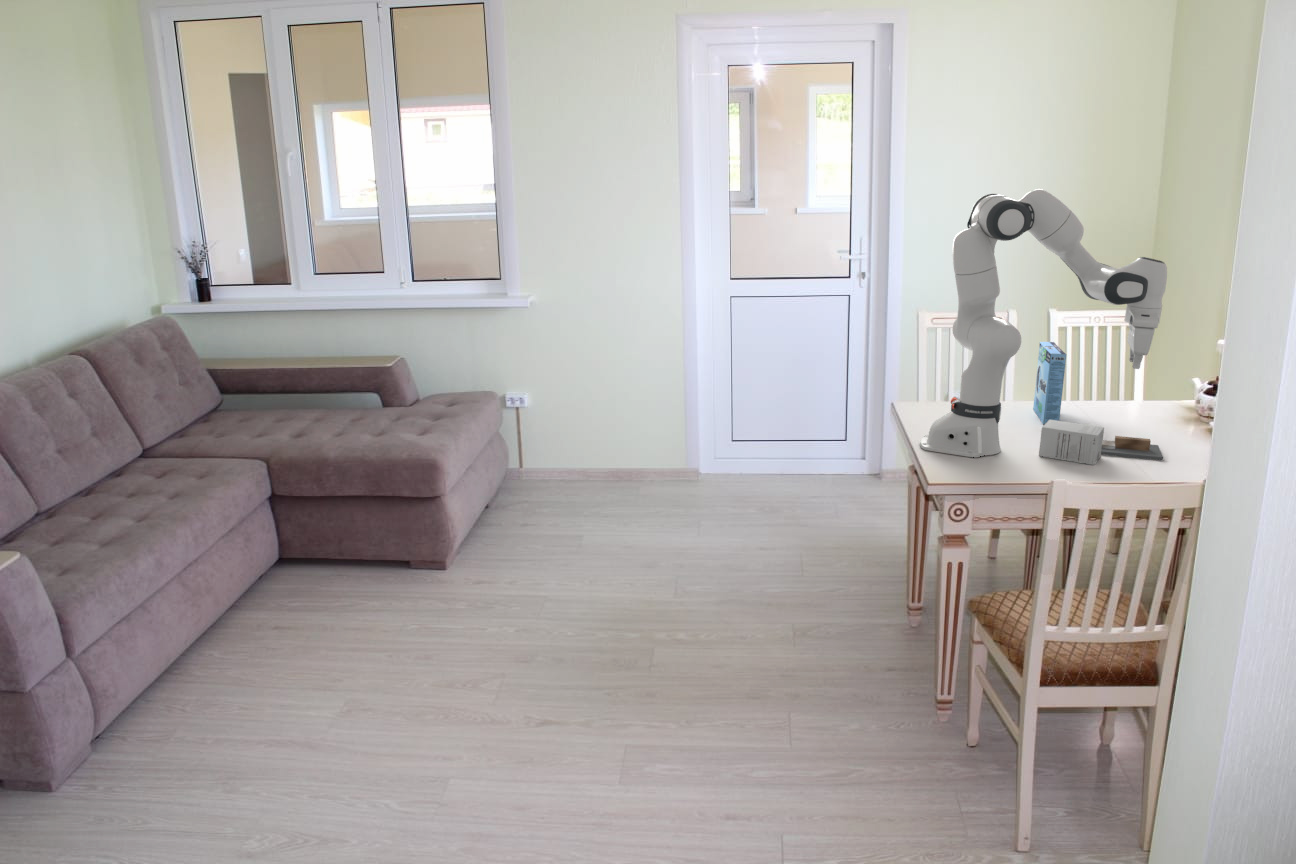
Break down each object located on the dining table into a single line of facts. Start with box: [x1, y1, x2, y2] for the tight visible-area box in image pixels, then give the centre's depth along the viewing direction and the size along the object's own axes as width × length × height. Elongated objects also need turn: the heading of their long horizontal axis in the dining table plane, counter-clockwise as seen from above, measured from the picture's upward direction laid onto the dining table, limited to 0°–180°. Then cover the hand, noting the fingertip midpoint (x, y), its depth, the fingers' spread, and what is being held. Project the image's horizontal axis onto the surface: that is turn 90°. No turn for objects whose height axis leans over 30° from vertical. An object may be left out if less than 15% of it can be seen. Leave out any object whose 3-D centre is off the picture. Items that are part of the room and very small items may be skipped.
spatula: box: [1102, 435, 1151, 451], centre depth 285 cm, size 14×5×3 cm, turn 70°
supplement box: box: [1038, 420, 1105, 466], centre depth 279 cm, size 9×9×15 cm
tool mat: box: [1101, 440, 1164, 461], centre depth 286 cm, size 20×12×1 cm, turn 70°
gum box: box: [1032, 341, 1067, 426], centre depth 317 cm, size 20×5×23 cm, turn 168°
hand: (1134, 365), depth 280 cm, fingers open, 8 cm apart
